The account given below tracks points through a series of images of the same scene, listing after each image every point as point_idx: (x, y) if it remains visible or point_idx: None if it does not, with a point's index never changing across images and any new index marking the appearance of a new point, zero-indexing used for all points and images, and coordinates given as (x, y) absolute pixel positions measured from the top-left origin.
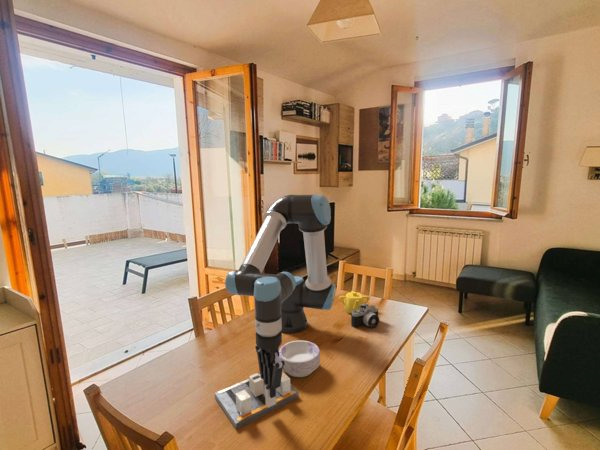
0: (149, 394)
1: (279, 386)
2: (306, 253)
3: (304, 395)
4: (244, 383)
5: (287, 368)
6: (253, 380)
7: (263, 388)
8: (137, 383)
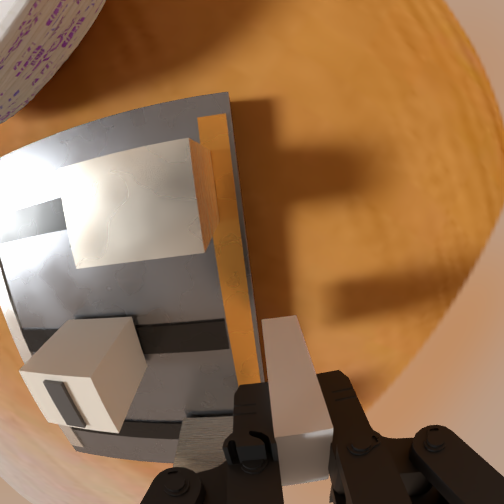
0: (53, 494)
1: (448, 436)
2: None
3: (230, 63)
4: (33, 354)
5: (11, 95)
6: (92, 427)
7: (120, 335)
8: (22, 486)
